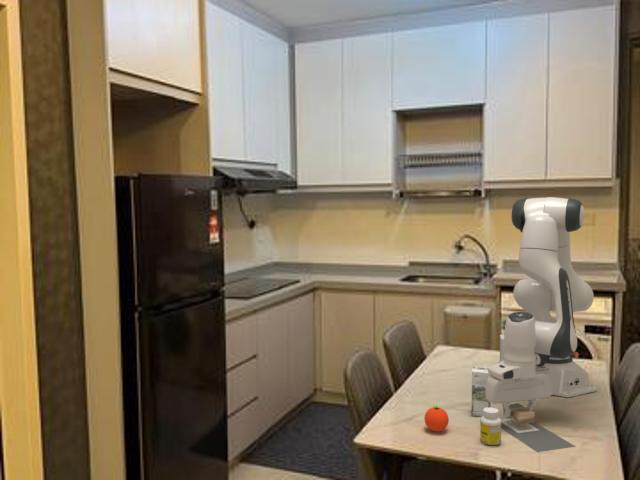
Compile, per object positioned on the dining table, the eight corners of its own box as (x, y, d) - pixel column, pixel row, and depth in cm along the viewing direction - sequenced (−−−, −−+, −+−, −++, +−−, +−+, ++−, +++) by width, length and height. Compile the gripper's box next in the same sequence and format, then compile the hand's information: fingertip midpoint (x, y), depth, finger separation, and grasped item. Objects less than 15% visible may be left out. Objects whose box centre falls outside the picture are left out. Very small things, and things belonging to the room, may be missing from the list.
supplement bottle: (477, 441, 159) (477, 406, 159) (496, 440, 160) (496, 405, 159) (484, 449, 154) (484, 413, 153) (504, 448, 154) (504, 413, 154)
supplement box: (518, 366, 230) (519, 335, 229) (520, 371, 223) (521, 339, 222) (499, 365, 232) (499, 334, 231) (500, 370, 225) (501, 338, 224)
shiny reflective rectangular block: (534, 422, 165) (534, 412, 165) (519, 424, 164) (519, 414, 164) (517, 412, 173) (517, 403, 173) (503, 414, 172) (503, 404, 172)
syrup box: (491, 412, 181) (491, 366, 180) (490, 418, 175) (490, 372, 174) (472, 410, 183) (472, 365, 182) (470, 416, 177) (471, 370, 176)
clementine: (422, 424, 171) (422, 401, 171) (445, 424, 171) (445, 401, 171) (426, 435, 163) (426, 411, 163) (450, 435, 163) (450, 411, 163)
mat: (525, 418, 175) (525, 416, 175) (575, 448, 154) (575, 446, 154) (490, 423, 172) (490, 420, 172) (537, 454, 151) (537, 451, 151)
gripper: (543, 362, 173) (542, 407, 174) (483, 368, 168) (482, 414, 169) (557, 368, 167) (555, 414, 168) (495, 374, 162) (494, 422, 163)
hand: (518, 414), depth 168 cm, fingers closed on shiny reflective rectangular block, 5 cm apart
